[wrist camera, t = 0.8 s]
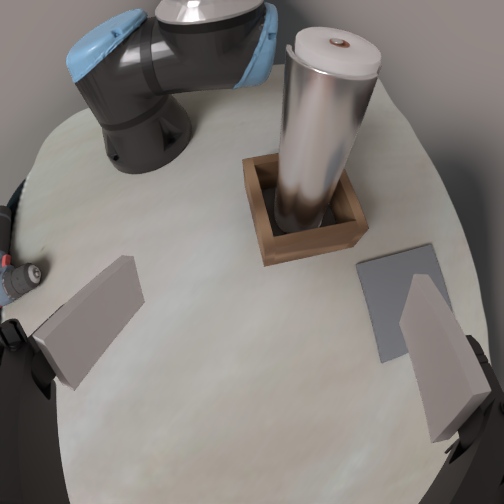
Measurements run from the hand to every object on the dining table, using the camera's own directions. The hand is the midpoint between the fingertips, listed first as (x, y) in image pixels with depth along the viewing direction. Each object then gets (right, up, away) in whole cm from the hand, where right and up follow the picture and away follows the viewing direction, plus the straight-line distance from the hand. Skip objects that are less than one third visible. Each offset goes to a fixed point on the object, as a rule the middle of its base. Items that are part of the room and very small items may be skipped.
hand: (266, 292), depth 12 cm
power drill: (-44, +1, +25) cm, 51 cm away
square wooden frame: (+5, +7, +24) cm, 26 cm away
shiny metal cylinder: (+5, +7, +24) cm, 26 cm away
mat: (+20, -5, +20) cm, 29 cm away
